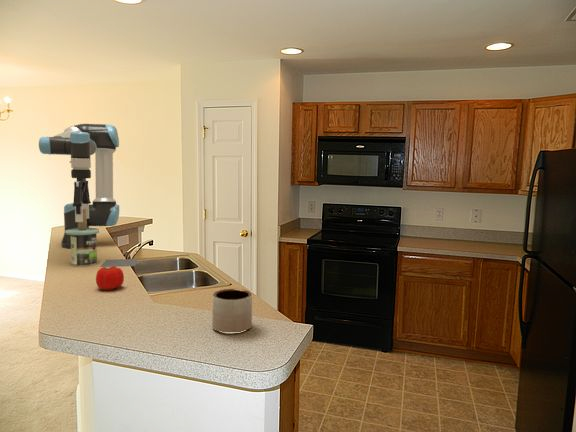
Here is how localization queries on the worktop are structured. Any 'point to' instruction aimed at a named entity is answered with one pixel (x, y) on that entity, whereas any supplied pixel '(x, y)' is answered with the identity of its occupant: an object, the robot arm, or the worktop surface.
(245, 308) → the planter
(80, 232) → the cover
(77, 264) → the coffee can
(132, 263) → the mat
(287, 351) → the worktop surface
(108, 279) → the tomato
